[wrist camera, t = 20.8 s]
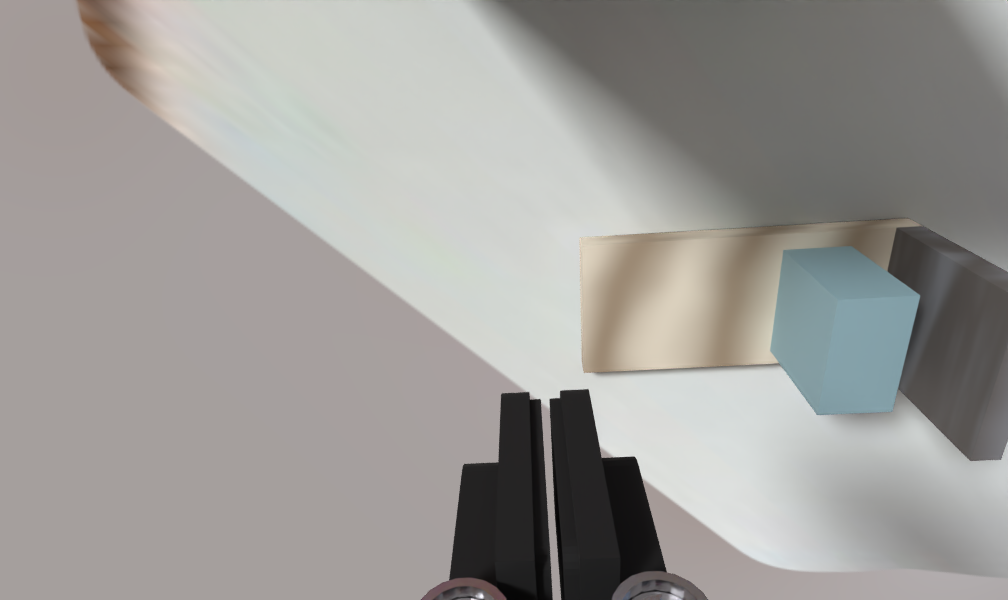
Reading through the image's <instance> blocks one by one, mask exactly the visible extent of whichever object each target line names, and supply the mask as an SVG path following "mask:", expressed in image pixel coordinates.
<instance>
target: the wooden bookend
mask: <svg viewBox="0 0 1008 600" xmlns="http://www.w3.org/2000/svg"><path fill="white" fill-rule="evenodd" d="M843 246H852V247H854V248H855V249H856V250H858V251H859V252H861V253H862V254H863V255H865V256H866V257H867V258H869V259H870V260H872V261H873V262H874V263H876V264H877V265H879V266H880V267H881V268H883V269H884V270H886V271H887V272H888V273H890V274H891V275H893V276H894V277H895V278H897V279H898V280H900V281H901V282H902V283H904V284H905V285H907V286H908V287H909V288H911V289H912V290H913V291H915V292H916V293H918V294H919V295H920V299H919V303H918V308H917V312H916V316H915V320H914V324H913V328H912V332H911V337H910V341H909V345H908V349H907V353H906V357H905V361H904V365H903V370H902V374H901V378H900V382H899V386H898V389H899V390H900V391H901V392H902V393H903V394H904V395H905V396H906V397H907V398H908V399H909V400H910V401H911V402H912V403H913V404H914V405H915V406H916V407H917V408H918V409H919V410H920V411H921V412H922V413H923V414H924V415H925V416H926V417H927V418H928V419H929V420H930V421H931V422H932V423H933V424H934V425H935V426H936V427H937V428H938V429H939V430H940V431H941V432H942V433H943V434H944V435H945V436H946V437H947V438H948V439H949V440H950V441H951V442H952V443H953V444H954V445H955V446H956V447H957V448H958V449H959V450H960V451H961V452H962V453H963V454H964V455H965V456H966V457H967V458H968V459H969V460H970V461H979V460H1001V458H1002V455H1003V452H1004V449H1005V446H1006V444H1007V441H1008V272H1007V271H1005V270H1003V269H1001V268H999V267H997V266H996V265H994V264H992V263H990V262H988V261H986V260H984V259H983V258H981V257H979V256H977V255H975V254H973V253H972V252H970V251H968V250H966V249H964V248H962V247H960V246H959V245H957V244H955V243H953V242H951V241H949V240H948V239H946V238H944V237H942V236H940V235H938V234H937V233H935V232H933V231H931V230H929V229H927V228H925V227H924V226H922V225H920V224H918V223H916V222H914V221H913V220H911V219H909V218H902V219H885V220H868V221H851V222H834V223H817V224H801V225H784V226H767V227H750V228H733V229H717V230H700V231H683V232H666V233H649V234H632V235H616V236H599V237H582V238H580V290H581V344H582V365H583V370H584V373H591V372H611V371H631V370H652V369H672V368H692V367H713V366H733V365H754V364H774V363H779V362H778V361H777V359H776V358H775V357H774V355H773V354H772V353H771V351H770V347H771V340H772V332H773V324H774V317H775V309H776V302H777V294H778V287H779V279H780V272H781V264H782V256H783V250H790V249H808V248H825V247H843Z"/></svg>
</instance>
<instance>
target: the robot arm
mask: <svg viewBox="0 0 1008 600" xmlns="http://www.w3.org/2000/svg"><path fill="white" fill-rule="evenodd" d="M550 418H551V439H552V440H551V441H552V462H553V483H554V504H555V521H556V535H557V548H558V562H559V574H560V588H561V600H708V599H707V597H706V596H705V595H704V593H703V592H702V591H701V590H700V589H698V588H697V587H696V586H695V585H694V584H692V583H691V582H690V581H688V580H686V579H684V578H682V577H679V576H677V575H675V574H671V573H667V571H666V567H665V564H664V560H663V556H662V552H661V549H660V545H659V541H658V537H657V533H656V530H655V526H654V522H653V518H652V515H651V511H650V507H649V503H648V500H647V496H646V492H645V488H644V485H643V481H642V477H641V473H640V469H639V466H638V463H637V459H636V458H635V457H615V458H601V452H600V447H599V442H598V436H597V431H596V426H595V420H594V415H593V410H592V404H591V399H590V394H589V390H588V389H585V390H564V391H560V398H555V399H550ZM421 600H553V599H552V580H551V563H550V544H549V529H548V511H547V495H546V480H545V462H544V446H543V430H542V415H541V399H534V400H530V396H529V392H523V393H503V394H501V414H500V438H499V463H476V464H464V465H463V469H462V476H461V485H460V493H459V502H458V510H457V519H456V528H455V536H454V544H453V553H452V562H451V571H450V579H449V581H446V582H443V583H441V584H440V585H438V586H436V587H435V588H433V589H431V590H430V591H429V592H428V593H427V594H426V595H425V596H424V597H423V598H422V599H421Z"/></svg>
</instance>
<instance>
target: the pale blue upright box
mask: <svg viewBox="0 0 1008 600" xmlns="http://www.w3.org/2000/svg"><path fill="white" fill-rule="evenodd" d="M919 299H920V295H919V294H918V293H916V292H915V291H913V290H912V289H911V288H909V287H908V286H907V285H905V284H904V283H902V282H901V281H900V280H898V279H897V278H895V277H894V276H893V275H891V274H890V273H888V272H887V271H886V270H884V269H883V268H881V267H880V266H879V265H877V264H876V263H874V262H873V261H872V260H870V259H869V258H867V257H866V256H865V255H863V254H862V253H861V252H859V251H858V250H856V249H855V248H854V247H852V246H843V247H825V248H808V249H790V250H783V256H782V264H781V272H780V279H779V287H778V294H777V302H776V309H775V317H774V324H773V332H772V340H771V347H770V351H771V353H772V354H773V355H774V357H775V358H776V359H777V361H778V362H779V364H780V365H781V366H782V368H783V369H784V370H785V372H786V373H787V374H788V376H789V377H790V379H791V380H792V381H793V383H794V384H795V385H796V387H797V388H798V389H799V391H800V392H801V394H802V395H803V396H804V398H805V399H806V400H807V402H808V403H809V404H810V406H811V407H812V409H813V410H814V411H815V413H816V414H817V415H830V414H852V413H874V412H892V411H893V407H894V403H895V399H896V394H897V390H898V386H899V382H900V378H901V374H902V370H903V365H904V361H905V357H906V353H907V349H908V345H909V341H910V337H911V332H912V328H913V324H914V320H915V316H916V312H917V308H918V303H919Z"/></svg>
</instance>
